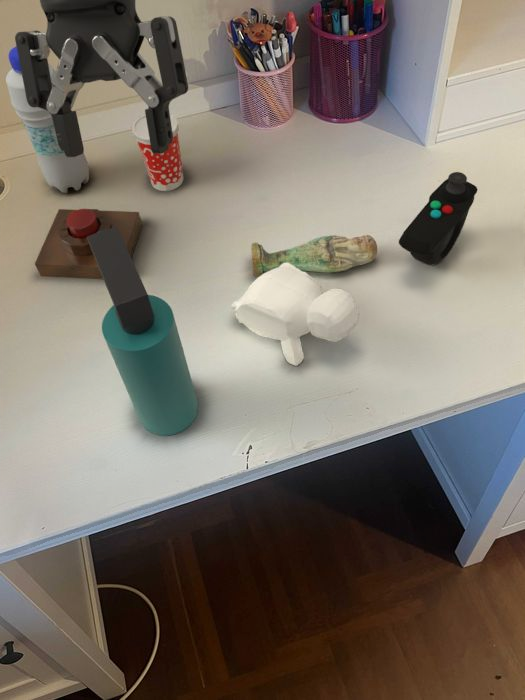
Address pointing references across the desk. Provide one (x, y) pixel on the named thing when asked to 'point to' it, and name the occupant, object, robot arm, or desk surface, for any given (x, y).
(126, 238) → the button box
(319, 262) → the figurine
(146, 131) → the beverage cup
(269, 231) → the desk surface
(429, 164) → the desk surface
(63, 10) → the robot arm
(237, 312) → the penguin
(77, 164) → the bottle
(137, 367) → the spray bottle
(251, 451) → the desk surface
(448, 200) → the controller
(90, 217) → the button
